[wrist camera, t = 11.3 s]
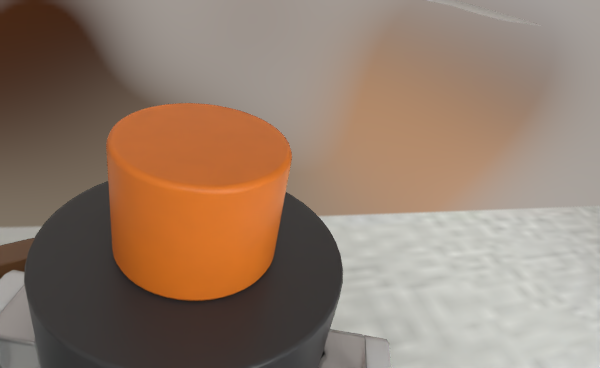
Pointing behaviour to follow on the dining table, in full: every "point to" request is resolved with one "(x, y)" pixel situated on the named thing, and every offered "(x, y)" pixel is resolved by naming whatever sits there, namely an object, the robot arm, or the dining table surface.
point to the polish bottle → (185, 253)
